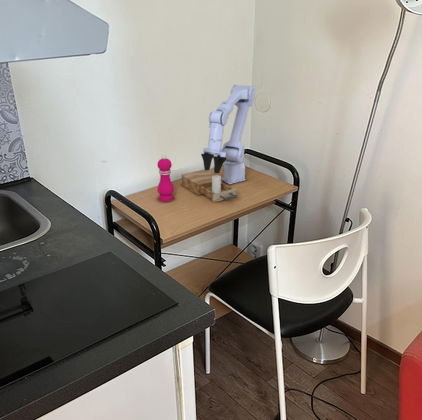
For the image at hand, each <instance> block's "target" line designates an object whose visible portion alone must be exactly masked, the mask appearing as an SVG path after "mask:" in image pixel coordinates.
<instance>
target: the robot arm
mask: <svg viewBox="0 0 422 420" xmlns="http://www.w3.org/2000/svg"><path fill="white" fill-rule="evenodd" d="M255 97H256V88H255V87H254V85H241V84H240V85H239V84H233V85H232V86H231V88H230V95H228V97H227V99H226V100H223V101H222V102H221V103H220V104H219V106H217V108H216V109H215V110H212V111H210V112H209V116H208V128H209V135H208V141H207V147H203V148H202V153H201V154H200V155H201V158H202V161H203V168H204V169H205V170H207V171H210V169H211V165H212V161H213V174H220V172H221V170H222V167H223V177H221V178H222V182H225V184H228V185H232V184H237V183H240V182H244V181H246V176H245V175H246V166H245V165H246V164H245V162H244V157H245V146H244V145H243V144H242V143H241V141H242V137H243V133H244V130H245V125H246V120H247V118H248V117H247V116H248V113H249V109H250V108H251V107H253V104H254V102H255ZM234 106H236V107H237V109H236V113H235V116H234V117H235V118H234V121H233V125H232V130H231V132H230V138H229V140H228V141H226V142H225V143H223V139H224V130H225V126H226V125H227V124H228V120H229V117H230V115H231V114H232V112H233V111H234V108H235V107H234ZM204 169H203V170H204Z"/></svg>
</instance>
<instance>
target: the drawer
mask: <svg viewBox="0 0 422 420" xmlns="http://www.w3.org/2000/svg"><path fill="white" fill-rule="evenodd" d="M200 192H201V193H203V194H202V195H205V197H207V198H209V199H211V200H212V202H213V203H216V202H220V201H224V202H226V201H230V200H234V199H237V198H238V195H237V188H235V187H234V188H232V187H230V186H228V185H227V184H226V183H223V182H222V183H221V192H219V193H213V192H212V183H209V184H205V185H201V186H200Z"/></svg>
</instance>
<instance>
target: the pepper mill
mask: <svg viewBox="0 0 422 420" xmlns="http://www.w3.org/2000/svg"><path fill="white" fill-rule="evenodd" d="M156 166H157V168H158V169H159V170H158V173H159V176H160V179H159V182H158V185H157V193H158V200H159V201H160V202H164V203H166V202H171V201H173V200H174V194H173V193H174V192H175V187H174V184H173V182H172V180H171V173H172V169H171V168H172V167H173V165H172V161H171V160H170V159H169V158H168V157H167V155H165V154H164V155H162V156H161V158H160V159H158V161H157V165H156Z"/></svg>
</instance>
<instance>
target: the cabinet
mask: <svg viewBox="0 0 422 420" xmlns="http://www.w3.org/2000/svg"><path fill="white" fill-rule="evenodd" d="M214 175H215V173H214V172H211V171H210V170H205V169H199V170H196V171H191V172H187V173H182V174H181V185H182V187H185V188H186V189H188V190H189V191H191V192H192V193H194V194H196V195H197V196H200V195H204V194H203V193H201V192H200V186H201V185H205V184H209V183H212V176H214ZM222 178H223V177H221V183H223V181H222Z"/></svg>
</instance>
